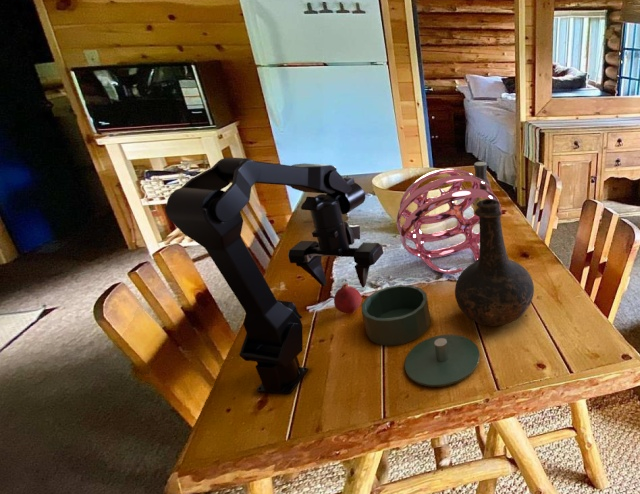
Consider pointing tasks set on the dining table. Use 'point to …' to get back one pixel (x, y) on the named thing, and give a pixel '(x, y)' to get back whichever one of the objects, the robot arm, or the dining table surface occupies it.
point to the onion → (347, 299)
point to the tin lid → (442, 360)
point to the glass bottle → (493, 276)
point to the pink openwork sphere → (442, 215)
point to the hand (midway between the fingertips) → (344, 285)
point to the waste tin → (396, 315)
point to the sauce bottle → (481, 173)
